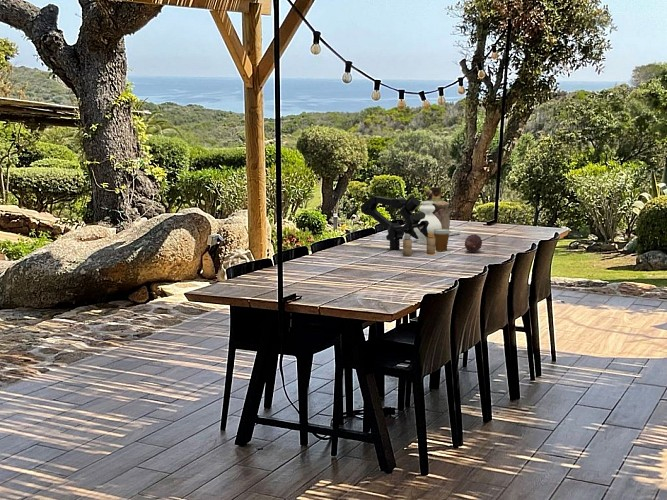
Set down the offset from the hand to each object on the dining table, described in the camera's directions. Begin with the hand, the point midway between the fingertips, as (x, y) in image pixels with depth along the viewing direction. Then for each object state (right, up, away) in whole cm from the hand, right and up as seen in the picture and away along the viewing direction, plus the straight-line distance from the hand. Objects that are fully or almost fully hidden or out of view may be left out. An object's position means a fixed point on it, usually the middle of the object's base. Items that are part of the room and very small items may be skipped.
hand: (423, 238), depth 483 cm
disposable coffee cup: (+12, -7, +15) cm, 21 cm away
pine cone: (+30, -8, +10) cm, 32 cm away
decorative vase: (+7, -2, +45) cm, 46 cm away
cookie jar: (+16, +3, +80) cm, 82 cm away
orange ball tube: (+4, -9, -3) cm, 10 cm away
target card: (-3, -10, -6) cm, 12 cm away
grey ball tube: (-10, -10, -9) cm, 16 cm away
